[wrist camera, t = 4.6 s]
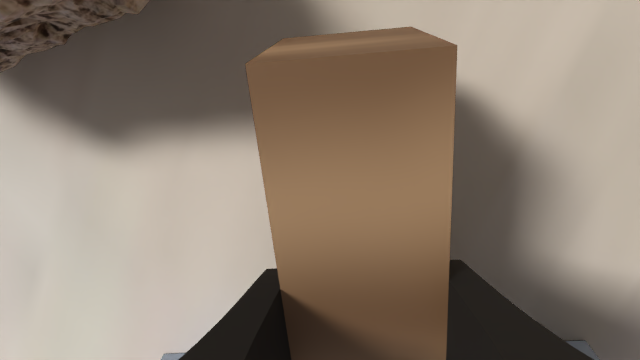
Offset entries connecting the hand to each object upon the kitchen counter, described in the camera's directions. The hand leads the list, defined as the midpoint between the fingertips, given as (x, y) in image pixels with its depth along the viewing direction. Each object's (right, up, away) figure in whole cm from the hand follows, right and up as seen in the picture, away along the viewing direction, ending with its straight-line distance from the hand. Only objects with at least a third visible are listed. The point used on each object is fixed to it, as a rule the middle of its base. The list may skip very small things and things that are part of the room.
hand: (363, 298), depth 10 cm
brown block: (0, +2, +3) cm, 4 cm away
